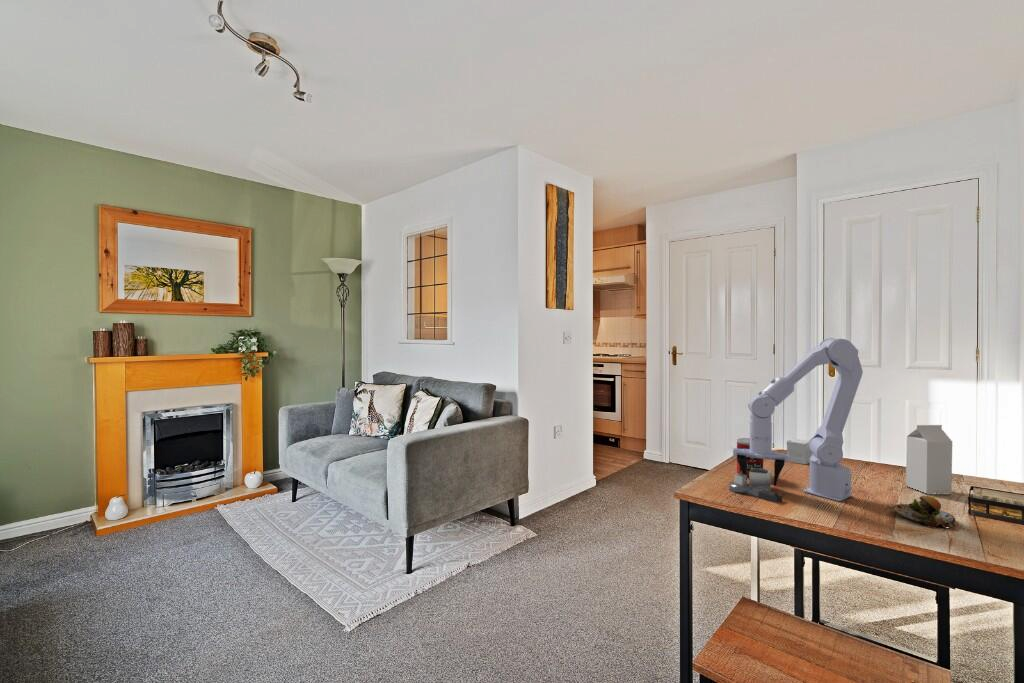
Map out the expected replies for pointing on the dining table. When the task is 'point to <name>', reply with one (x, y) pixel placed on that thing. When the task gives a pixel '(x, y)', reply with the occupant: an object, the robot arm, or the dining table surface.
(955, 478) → the dining table surface
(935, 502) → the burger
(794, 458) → the skincare box
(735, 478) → the ratchet
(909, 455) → the milk carton
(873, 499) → the dining table surface
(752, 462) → the canned food
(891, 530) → the dining table surface
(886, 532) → the dining table surface
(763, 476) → the socket
